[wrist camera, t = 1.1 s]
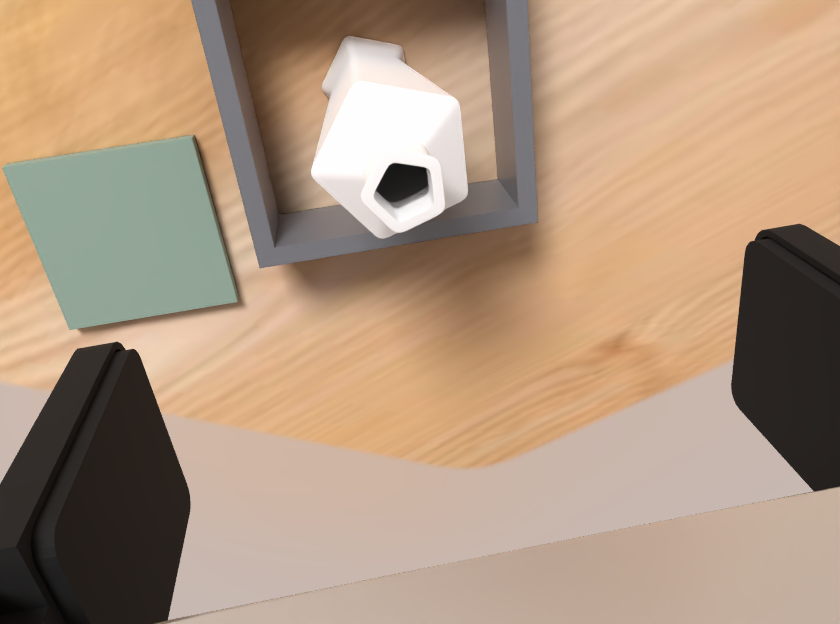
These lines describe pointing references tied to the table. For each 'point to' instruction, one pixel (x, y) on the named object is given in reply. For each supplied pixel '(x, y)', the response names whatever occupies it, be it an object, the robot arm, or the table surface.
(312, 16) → the table surface
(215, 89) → the bin
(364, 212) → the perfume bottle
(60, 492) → the robot arm
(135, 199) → the mat
